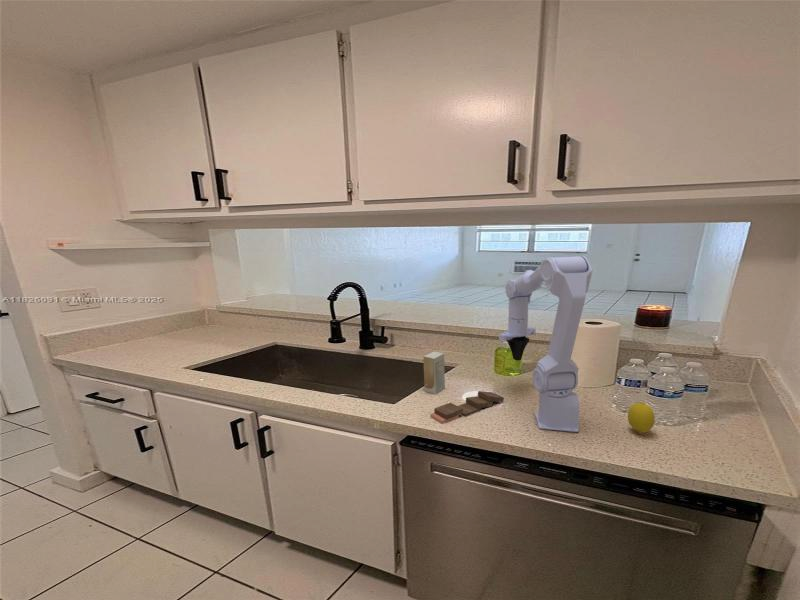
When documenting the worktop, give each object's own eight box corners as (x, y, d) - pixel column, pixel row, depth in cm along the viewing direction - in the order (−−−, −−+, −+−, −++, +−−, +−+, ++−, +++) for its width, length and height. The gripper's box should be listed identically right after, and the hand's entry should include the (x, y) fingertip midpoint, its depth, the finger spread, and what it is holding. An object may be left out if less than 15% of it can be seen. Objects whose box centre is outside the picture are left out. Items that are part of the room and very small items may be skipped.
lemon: (621, 427, 93) (623, 398, 92) (642, 426, 93) (644, 397, 92) (637, 439, 88) (639, 408, 86) (658, 437, 88) (661, 406, 87)
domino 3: (467, 402, 108) (452, 407, 105) (480, 408, 104) (465, 414, 101) (467, 406, 109) (452, 412, 105) (480, 412, 105) (465, 418, 101)
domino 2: (446, 408, 105) (430, 413, 102) (458, 414, 101) (441, 421, 98) (446, 412, 105) (430, 418, 102) (458, 419, 101) (441, 426, 98)
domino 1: (450, 402, 105) (434, 408, 102) (462, 408, 101) (446, 415, 98) (450, 407, 106) (434, 413, 102) (462, 413, 101) (446, 419, 98)
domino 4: (481, 395, 111) (466, 397, 108) (493, 401, 107) (478, 403, 104) (480, 400, 111) (465, 402, 108) (492, 406, 107) (477, 408, 104)
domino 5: (491, 392, 114) (478, 390, 110) (504, 397, 110) (490, 396, 106) (490, 396, 114) (477, 395, 110) (503, 402, 110) (489, 401, 106)
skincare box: (434, 385, 124) (433, 350, 122) (445, 388, 121) (445, 352, 119) (423, 391, 119) (422, 355, 117) (434, 395, 116) (433, 358, 114)
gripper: (523, 312, 121) (522, 352, 123) (491, 318, 113) (491, 360, 115) (541, 316, 115) (540, 357, 117) (509, 322, 107) (508, 366, 109)
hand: (517, 359), depth 116 cm, fingers closed
